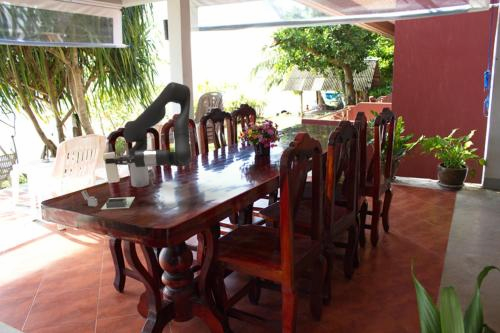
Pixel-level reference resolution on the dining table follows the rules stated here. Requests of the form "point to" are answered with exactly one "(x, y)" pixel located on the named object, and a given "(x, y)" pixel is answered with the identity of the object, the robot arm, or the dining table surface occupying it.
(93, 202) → the lighter
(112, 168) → the cream rectangular pillar
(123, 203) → the board
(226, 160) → the dining table surface
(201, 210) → the dining table surface
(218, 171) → the dining table surface
